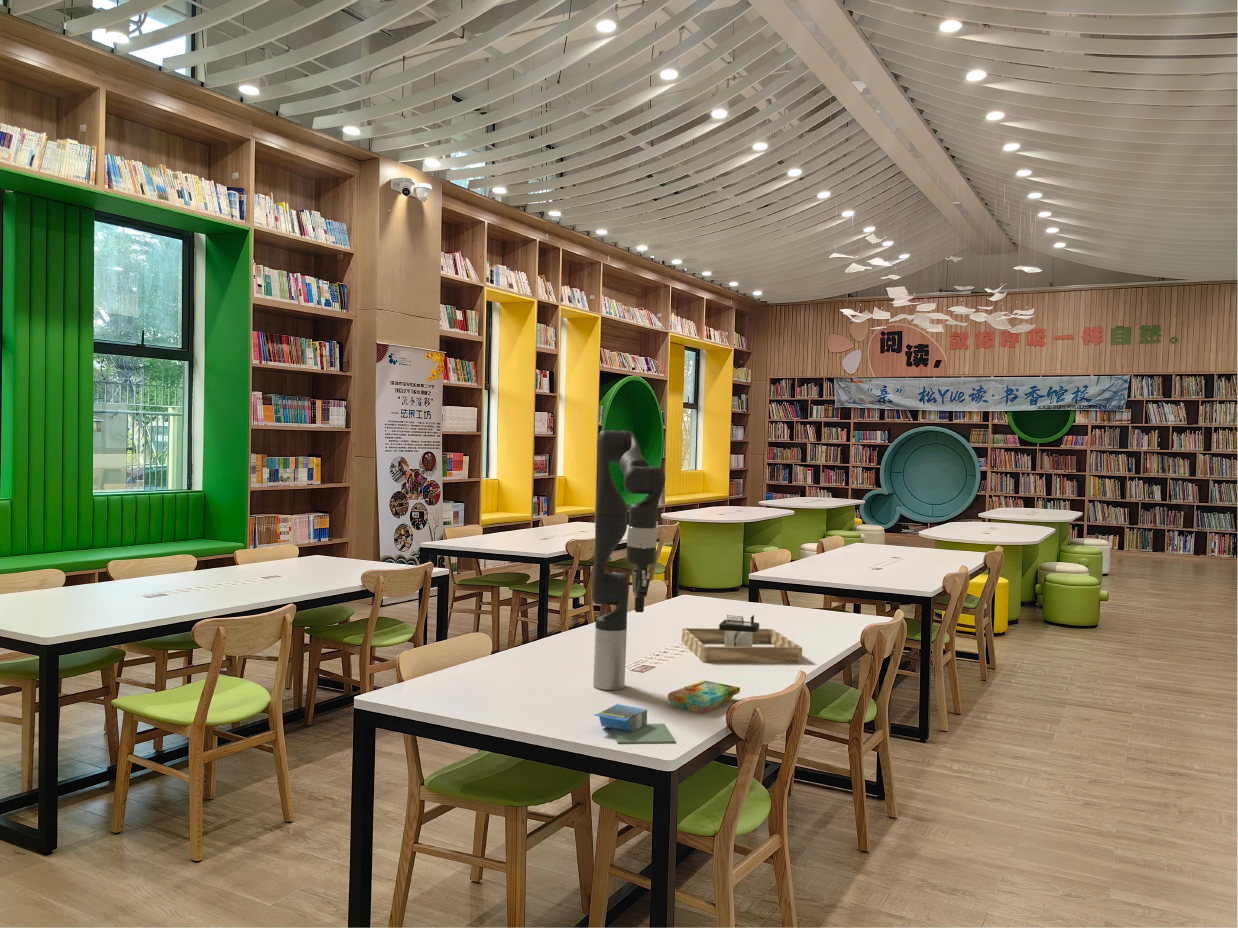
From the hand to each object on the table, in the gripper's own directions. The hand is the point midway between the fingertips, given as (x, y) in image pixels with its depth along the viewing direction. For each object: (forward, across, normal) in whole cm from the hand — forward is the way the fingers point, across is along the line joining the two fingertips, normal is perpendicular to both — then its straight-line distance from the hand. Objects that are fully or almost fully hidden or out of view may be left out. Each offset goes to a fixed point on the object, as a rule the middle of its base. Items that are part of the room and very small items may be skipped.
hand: (639, 611), depth 231 cm
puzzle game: (+29, -15, +22) cm, 40 cm away
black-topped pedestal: (+32, -81, +51) cm, 101 cm away
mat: (+28, +12, 0) cm, 30 cm away
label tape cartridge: (+26, +2, -1) cm, 26 cm away
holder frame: (+31, -80, +51) cm, 100 cm away
